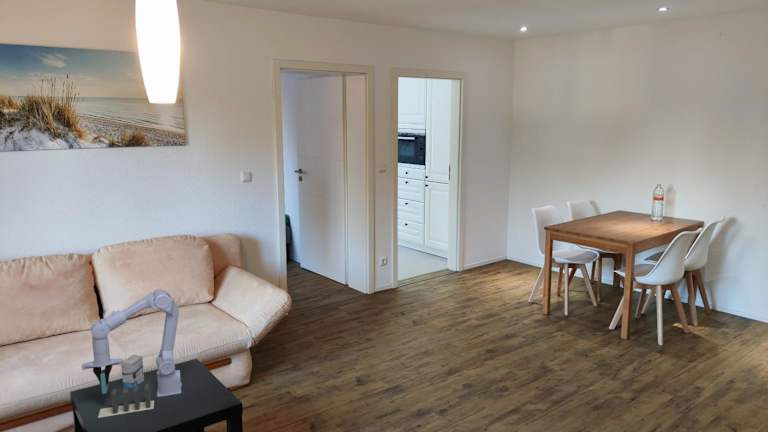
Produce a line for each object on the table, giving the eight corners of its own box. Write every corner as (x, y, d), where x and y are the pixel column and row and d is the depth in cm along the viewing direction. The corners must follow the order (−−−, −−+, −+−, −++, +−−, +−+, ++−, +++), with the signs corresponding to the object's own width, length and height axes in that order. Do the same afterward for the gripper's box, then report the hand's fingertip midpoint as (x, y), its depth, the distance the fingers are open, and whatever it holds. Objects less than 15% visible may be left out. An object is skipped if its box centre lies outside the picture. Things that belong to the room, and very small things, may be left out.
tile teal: (108, 387, 229) (106, 369, 227) (106, 393, 224) (104, 374, 223) (103, 388, 228) (102, 369, 227) (102, 393, 224) (100, 374, 222)
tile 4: (140, 403, 228) (138, 385, 227) (139, 409, 223) (138, 390, 222) (136, 404, 228) (134, 386, 226) (135, 410, 223) (133, 391, 222)
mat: (154, 400, 231) (154, 400, 231) (153, 408, 224) (153, 408, 224) (100, 409, 224) (100, 409, 224) (98, 418, 218) (98, 417, 217)
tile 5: (150, 402, 229) (149, 383, 228) (150, 407, 225) (148, 389, 223) (146, 402, 229) (145, 384, 228) (146, 408, 224) (144, 389, 223)
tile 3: (129, 405, 227) (128, 387, 225) (128, 411, 222) (126, 392, 221) (125, 406, 226) (123, 387, 225) (124, 412, 222) (122, 393, 220)
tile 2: (118, 407, 225) (117, 388, 224) (117, 413, 221) (115, 394, 219) (114, 407, 225) (112, 389, 224) (113, 413, 220) (111, 394, 219)
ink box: (132, 389, 241) (130, 363, 239) (122, 388, 242) (120, 362, 240) (144, 380, 250) (142, 355, 248) (134, 379, 250) (132, 354, 249)
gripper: (122, 345, 229) (125, 376, 232) (82, 350, 225) (85, 382, 227) (120, 351, 223) (123, 383, 225) (79, 357, 218) (83, 389, 220)
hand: (104, 383), depth 226 cm, fingers closed on tile teal, 1 cm apart
